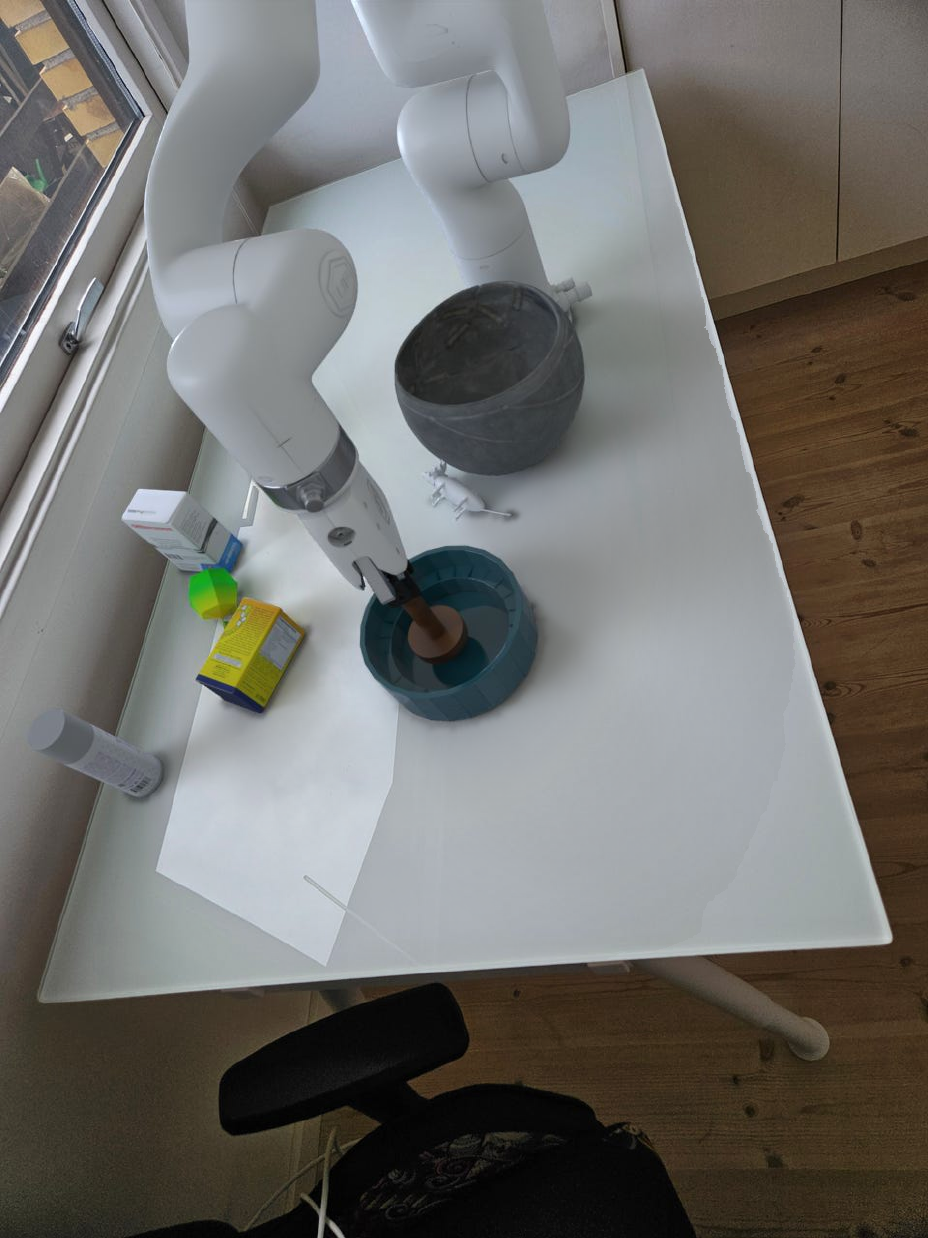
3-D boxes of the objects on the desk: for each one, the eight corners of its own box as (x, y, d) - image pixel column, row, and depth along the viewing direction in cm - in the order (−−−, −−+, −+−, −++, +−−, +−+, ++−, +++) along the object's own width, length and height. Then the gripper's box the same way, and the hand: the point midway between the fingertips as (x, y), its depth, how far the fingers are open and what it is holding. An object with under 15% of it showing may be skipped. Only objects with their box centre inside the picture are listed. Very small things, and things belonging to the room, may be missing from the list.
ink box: (245, 544, 105) (189, 488, 95) (229, 576, 103) (170, 523, 93) (195, 539, 109) (136, 485, 99) (179, 571, 107) (117, 519, 97)
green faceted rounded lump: (191, 587, 102) (211, 652, 100) (169, 571, 96) (190, 639, 93) (243, 566, 102) (265, 630, 100) (225, 549, 96) (248, 616, 94)
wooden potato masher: (458, 603, 85) (398, 516, 72) (475, 648, 81) (415, 566, 69) (407, 627, 85) (339, 546, 73) (422, 673, 82) (353, 596, 69)
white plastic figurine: (407, 473, 92) (434, 447, 94) (413, 501, 97) (439, 475, 99) (490, 525, 88) (516, 496, 90) (492, 551, 93) (517, 523, 95)
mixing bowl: (508, 553, 90) (490, 519, 84) (563, 680, 80) (546, 650, 75) (370, 618, 92) (344, 589, 87) (408, 750, 82) (381, 726, 77)
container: (167, 755, 92) (71, 703, 80) (159, 795, 90) (58, 748, 78) (133, 759, 94) (33, 709, 82) (124, 799, 91) (20, 754, 79)
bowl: (544, 349, 104) (515, 246, 91) (635, 442, 91) (615, 338, 79) (404, 434, 104) (356, 342, 91) (476, 539, 91) (432, 450, 79)
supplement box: (223, 701, 93) (270, 620, 97) (261, 715, 90) (308, 631, 94) (192, 679, 88) (242, 595, 92) (231, 693, 86) (282, 606, 89)
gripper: (373, 514, 55) (464, 638, 70) (328, 374, 64) (417, 510, 79) (278, 561, 56) (387, 674, 71) (246, 417, 65) (349, 544, 80)
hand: (402, 587), depth 75 cm, fingers closed on wooden potato masher
